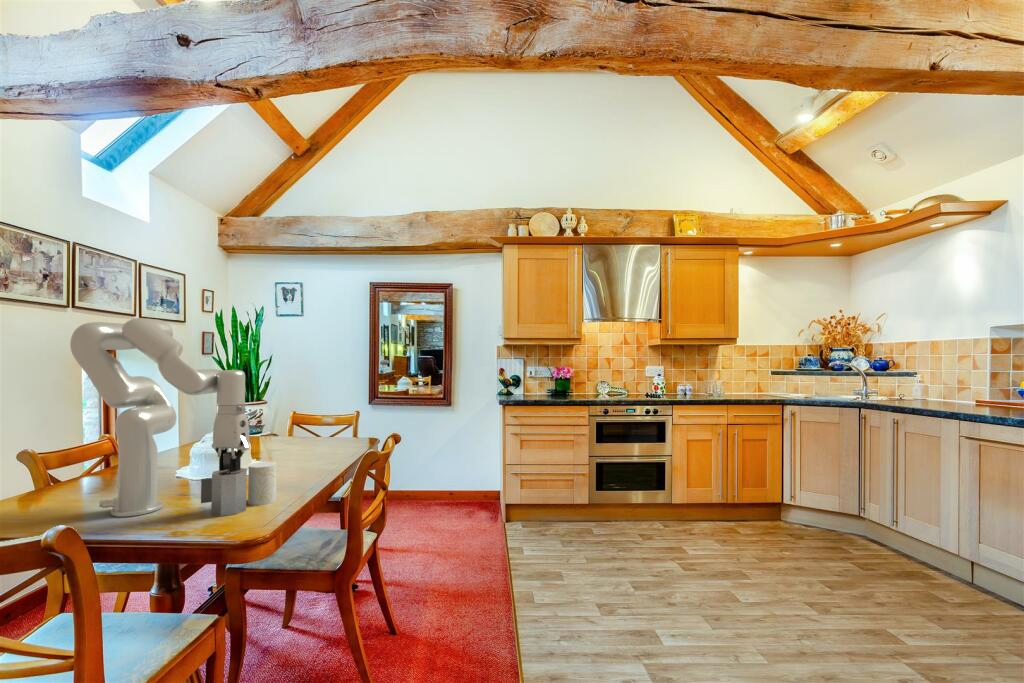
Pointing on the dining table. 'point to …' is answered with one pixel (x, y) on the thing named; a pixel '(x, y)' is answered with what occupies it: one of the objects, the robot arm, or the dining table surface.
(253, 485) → the light grey cylinder
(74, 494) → the dining table surface
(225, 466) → the plunger
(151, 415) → the robot arm
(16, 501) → the dining table surface
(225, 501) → the octagonal faceted vessel
